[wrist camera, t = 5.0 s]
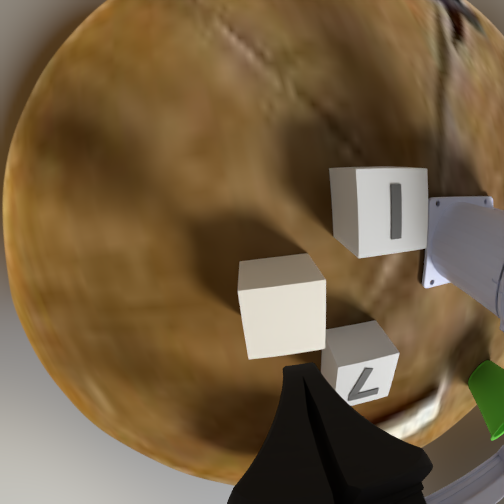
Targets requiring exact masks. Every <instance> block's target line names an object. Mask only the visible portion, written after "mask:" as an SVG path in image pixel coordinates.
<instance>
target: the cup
mask: <svg viewBox="0 0 504 504" xmlns="http://www.w3.org/2000/svg"><path fill="white" fill-rule="evenodd" d="M468 386H469V389H470V391H471V393H472V395H473V397H474V399H475V401H476V403H477V405H478V407H479V409H480V411H481V413H482V416H483V418H484V420H485V422H486V425H487V427H488V429H489V432H490V434H491V438H490V440H492V441H493V440H495V439H497V438H498V437H500V436H501V435H502V434H504V369H502V368H501V367H499V366H498V365H496V364H495V363H493V362H492V361H489V360H486V361H484V362H483V363H481V364H480V365H479V366H478V367H477V368H476V369H475V371H474V372H473V373H472V375H471V376H470V378H469V381H468Z"/></svg>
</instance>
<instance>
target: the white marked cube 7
mask: <svg viewBox="0 0 504 504" xmlns="http://www.w3.org/2000/svg"><path fill="white" fill-rule="evenodd" d="M398 357H399V351H398V350H397V348H396V347H395V346H394V344H393V343H392V342H391V340H390V339H389V337H388V336H387V335H386V333H385V332H384V331H383V329H382V328H381V327H380V325H379V324H378V323H377V321H376V320H374V321H369V322H364V323H359V324H354V325H349V326H343V327H338V328H332V329H326V335H325V349H322V357H321V374H322V375H323V376H324V378H325V379H326V380H327V381H328V383H329V384H330V385H331V386H332V387H333V388H334V390H335V391H336V392H337V393H338V394H339V395H340V396H341V397H342V398H343V399H344V400H345V401H346V402H347V403H348V404H349V405H350V406H352V405H356V404H360V403H364V402H368V401H371V400H375V399H379V398H382V397H385V396H388V393H389V390H390V386H391V383H392V380H393V376H394V372H395V369H396V365H397V361H398Z"/></svg>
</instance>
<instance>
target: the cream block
mask: <svg viewBox="0 0 504 504" xmlns="http://www.w3.org/2000/svg"><path fill="white" fill-rule="evenodd" d="M238 297H239V304H240V310H241V316H242V322H243V328H244V334H245V340H246V346H247V352H248V358H249V359H256V358H265V357H274V356H282V355H289V354H296V353H303V352H309V351H315V350H321V349H325V335H326V279H325V278H324V276H323V275H322V273H321V272H320V270H319V269H318V267H317V266H316V264H315V263H314V262H313V260H312V259H311V257H310V256H309V254H308V253H305V254H297V255H289V256H280V257H272V258H264V259H255V260H247V261H240V262H239V276H238Z"/></svg>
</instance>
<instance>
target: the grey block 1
mask: <svg viewBox="0 0 504 504" xmlns="http://www.w3.org/2000/svg"><path fill="white" fill-rule="evenodd" d="M329 174H330V186H331V199H332V215H333V237H334V238H336V239H337V240H338V241H339V242H340V243H341V244H343V245H344V246H345V247H346V248H347V249H348V250H350V251H351V252H352V253H353V254H354V255H355V256H357V257H358V258H365V257H372V256H379V255H386V254H392V253H399V252H406V251H412V250H419V249H425V248H426V246H427V229H428V175H427V169H426V168H413V167H395V166H371V167H342V168H329Z"/></svg>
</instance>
